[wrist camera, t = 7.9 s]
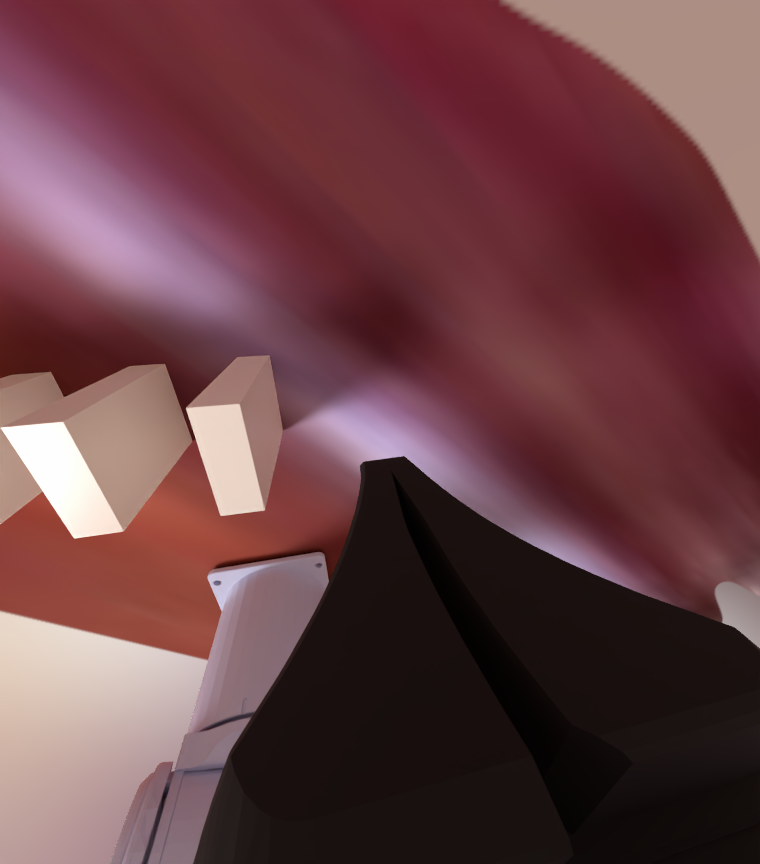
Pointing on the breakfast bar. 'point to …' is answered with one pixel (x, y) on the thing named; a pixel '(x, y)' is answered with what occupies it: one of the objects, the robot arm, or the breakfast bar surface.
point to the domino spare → (239, 433)
